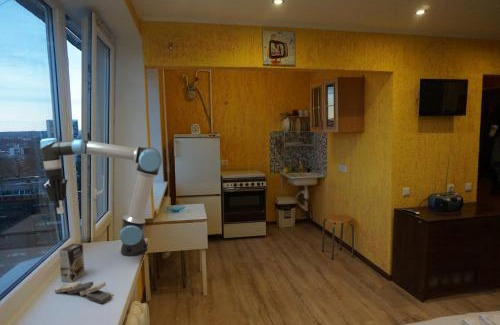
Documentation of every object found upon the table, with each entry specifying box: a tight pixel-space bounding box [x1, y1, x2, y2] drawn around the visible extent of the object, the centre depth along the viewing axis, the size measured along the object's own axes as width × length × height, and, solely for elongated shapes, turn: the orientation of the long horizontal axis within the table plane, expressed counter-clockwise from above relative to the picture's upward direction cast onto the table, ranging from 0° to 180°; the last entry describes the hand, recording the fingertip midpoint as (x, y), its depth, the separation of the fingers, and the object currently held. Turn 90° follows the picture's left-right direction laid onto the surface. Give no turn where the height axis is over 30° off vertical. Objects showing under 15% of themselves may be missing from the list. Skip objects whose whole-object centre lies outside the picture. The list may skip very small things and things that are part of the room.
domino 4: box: [85, 289, 112, 304], centre depth 139 cm, size 2×5×10 cm
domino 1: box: [54, 280, 82, 294], centre depth 145 cm, size 2×5×10 cm
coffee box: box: [58, 243, 85, 283], centre depth 158 cm, size 9×6×16 cm
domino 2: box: [66, 281, 95, 296], centre depth 144 cm, size 2×5×10 cm
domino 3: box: [78, 281, 107, 296], centre depth 142 cm, size 2×5×10 cm
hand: (60, 213), depth 164 cm, fingers closed
